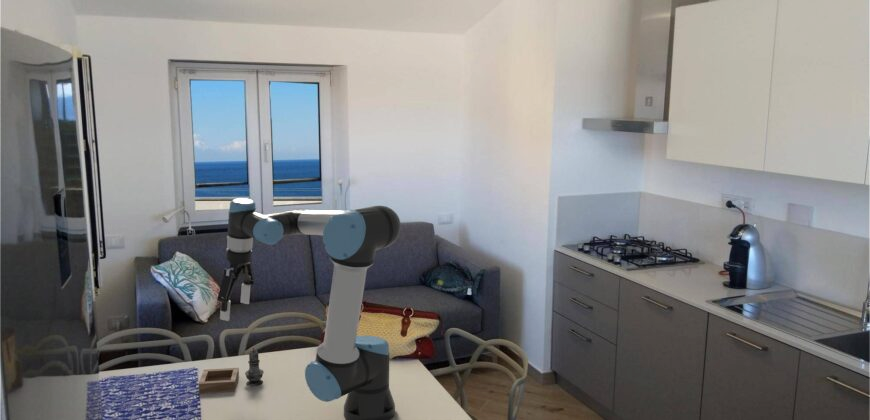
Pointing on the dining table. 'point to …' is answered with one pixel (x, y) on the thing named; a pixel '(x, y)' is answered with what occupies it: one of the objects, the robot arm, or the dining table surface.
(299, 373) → the dining table surface
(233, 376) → the walnut holder
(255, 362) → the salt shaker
